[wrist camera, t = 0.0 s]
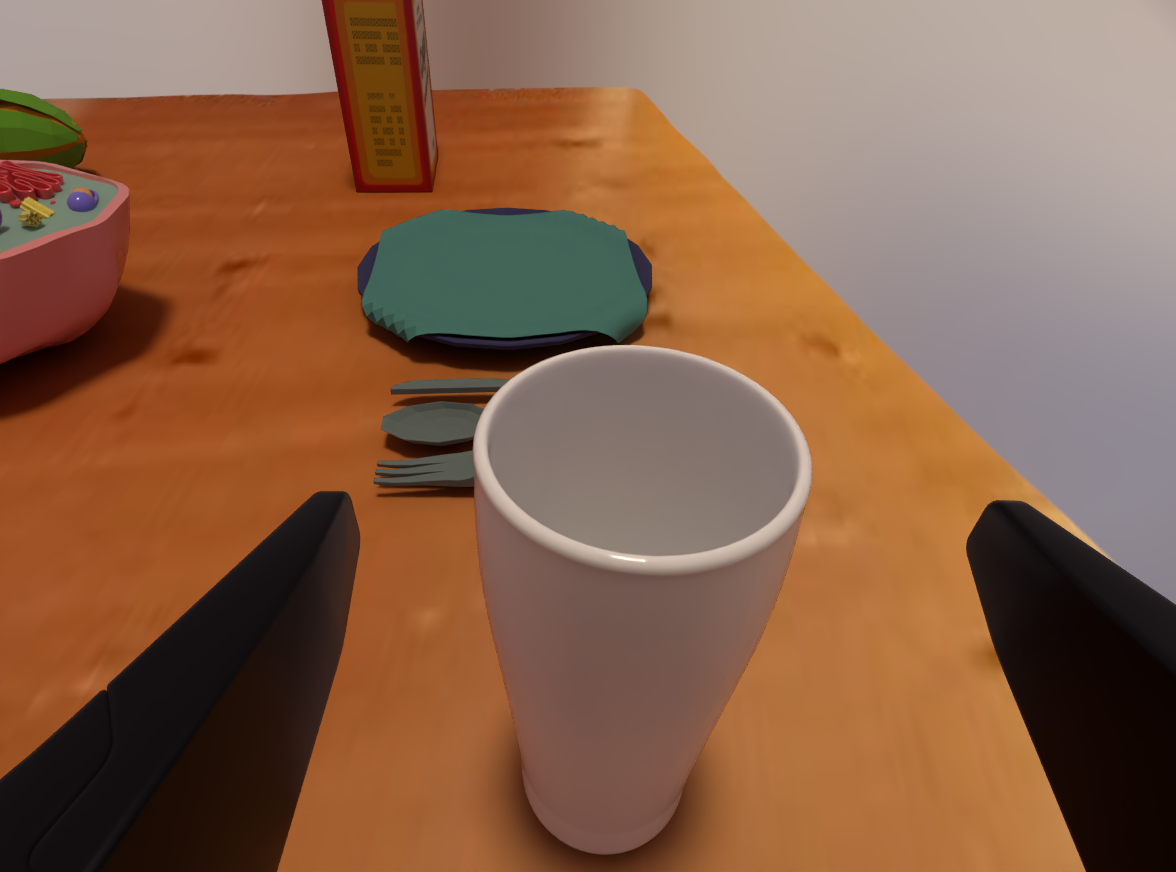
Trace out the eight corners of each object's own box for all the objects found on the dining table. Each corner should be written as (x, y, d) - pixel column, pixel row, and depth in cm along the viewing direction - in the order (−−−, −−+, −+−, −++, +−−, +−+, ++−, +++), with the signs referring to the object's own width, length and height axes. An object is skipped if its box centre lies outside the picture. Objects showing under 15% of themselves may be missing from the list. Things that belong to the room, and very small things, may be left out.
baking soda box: (370, 155, 68) (338, -43, 57) (438, 155, 68) (418, -40, 58) (356, 192, 60) (317, -26, 50) (432, 191, 61) (408, -24, 51)
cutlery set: (629, 230, 57) (631, 202, 55) (715, 487, 34) (722, 452, 32) (381, 230, 55) (376, 202, 53) (296, 504, 32) (284, 467, 31)
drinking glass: (698, 910, 20) (838, 603, 11) (475, 864, 21) (414, 536, 11) (706, 698, 25) (805, 359, 16) (527, 667, 26) (516, 324, 16)
